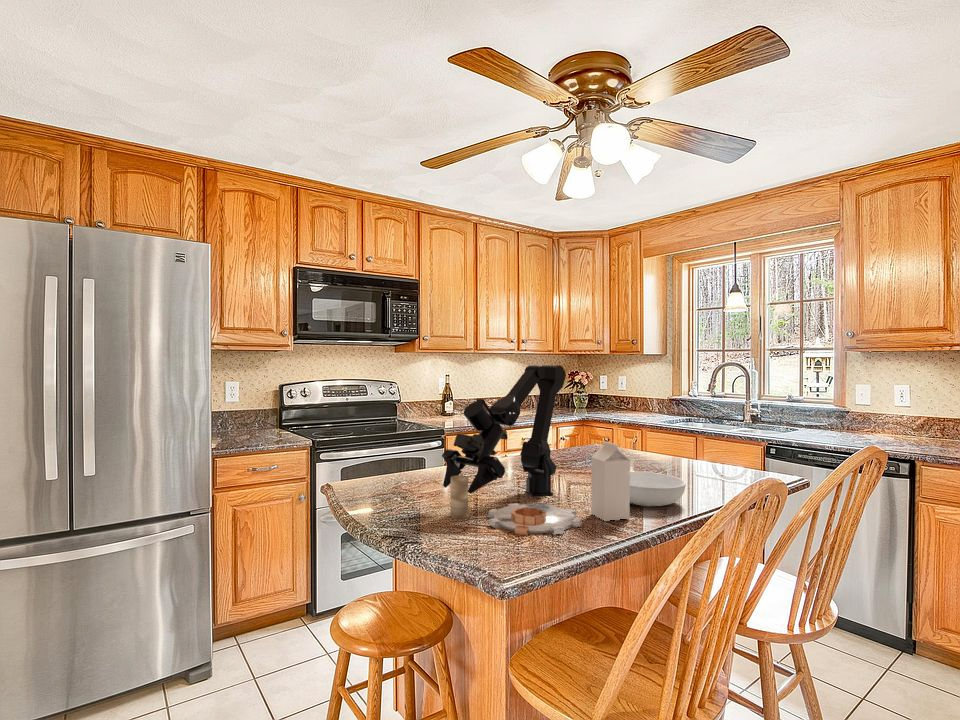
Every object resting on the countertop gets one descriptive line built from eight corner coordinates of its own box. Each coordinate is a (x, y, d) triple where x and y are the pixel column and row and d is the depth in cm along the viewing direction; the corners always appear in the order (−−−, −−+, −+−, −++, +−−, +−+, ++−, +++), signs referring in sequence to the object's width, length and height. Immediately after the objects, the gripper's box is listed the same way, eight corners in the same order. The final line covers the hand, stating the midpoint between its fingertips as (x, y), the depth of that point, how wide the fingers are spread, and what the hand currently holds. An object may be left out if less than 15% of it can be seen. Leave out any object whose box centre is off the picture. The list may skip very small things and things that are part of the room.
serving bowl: (658, 518, 139) (658, 491, 139) (592, 501, 155) (593, 477, 155) (700, 504, 152) (700, 480, 152) (636, 490, 168) (636, 468, 168)
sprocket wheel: (557, 505, 150) (557, 492, 150) (599, 531, 128) (599, 516, 128) (476, 511, 144) (476, 498, 144) (504, 540, 121) (504, 524, 121)
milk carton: (604, 522, 135) (604, 445, 135) (590, 514, 142) (591, 441, 142) (629, 520, 137) (630, 444, 137) (615, 512, 144) (615, 440, 144)
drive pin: (465, 513, 142) (465, 475, 142) (469, 518, 138) (470, 478, 138) (448, 514, 141) (448, 475, 141) (452, 519, 137) (452, 479, 137)
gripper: (447, 419, 149) (415, 465, 141) (498, 425, 136) (466, 475, 128) (467, 445, 155) (438, 490, 147) (517, 453, 142) (488, 503, 134)
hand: (456, 489), depth 139 cm, fingers open, 9 cm apart
